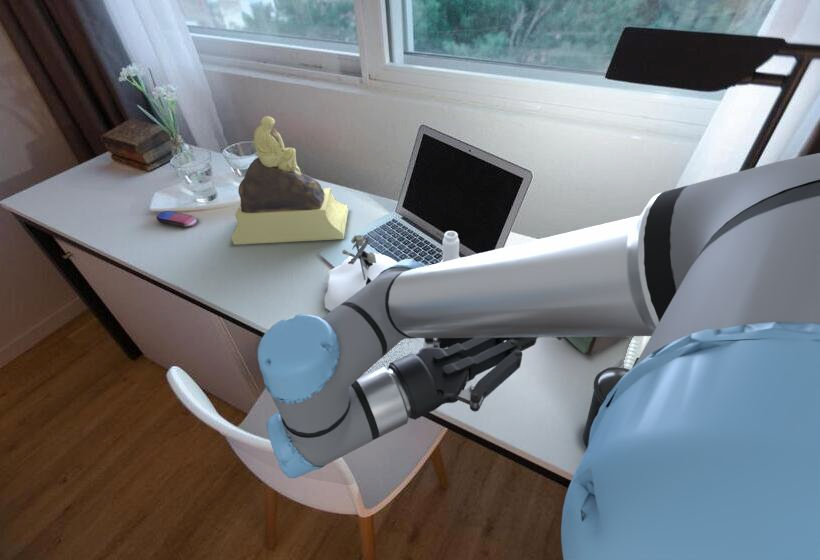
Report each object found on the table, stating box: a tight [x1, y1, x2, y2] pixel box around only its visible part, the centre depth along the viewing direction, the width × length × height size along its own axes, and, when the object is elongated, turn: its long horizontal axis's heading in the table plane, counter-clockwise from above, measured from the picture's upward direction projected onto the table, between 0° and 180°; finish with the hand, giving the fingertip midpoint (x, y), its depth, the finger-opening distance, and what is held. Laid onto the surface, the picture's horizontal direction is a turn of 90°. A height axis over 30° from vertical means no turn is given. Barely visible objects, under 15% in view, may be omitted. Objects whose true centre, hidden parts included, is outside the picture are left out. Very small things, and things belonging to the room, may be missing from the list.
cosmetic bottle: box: [439, 230, 460, 263], centre depth 78 cm, size 6×6×22 cm
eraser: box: [155, 210, 198, 229], centre depth 119 cm, size 11×4×2 cm, turn 71°
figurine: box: [324, 234, 399, 312], centre depth 89 cm, size 20×18×16 cm
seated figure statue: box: [230, 115, 349, 245], centre depth 105 cm, size 28×13×30 cm, turn 91°
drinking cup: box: [582, 357, 639, 448], centre depth 59 cm, size 8×8×20 cm
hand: (547, 322), depth 61 cm, fingers closed
